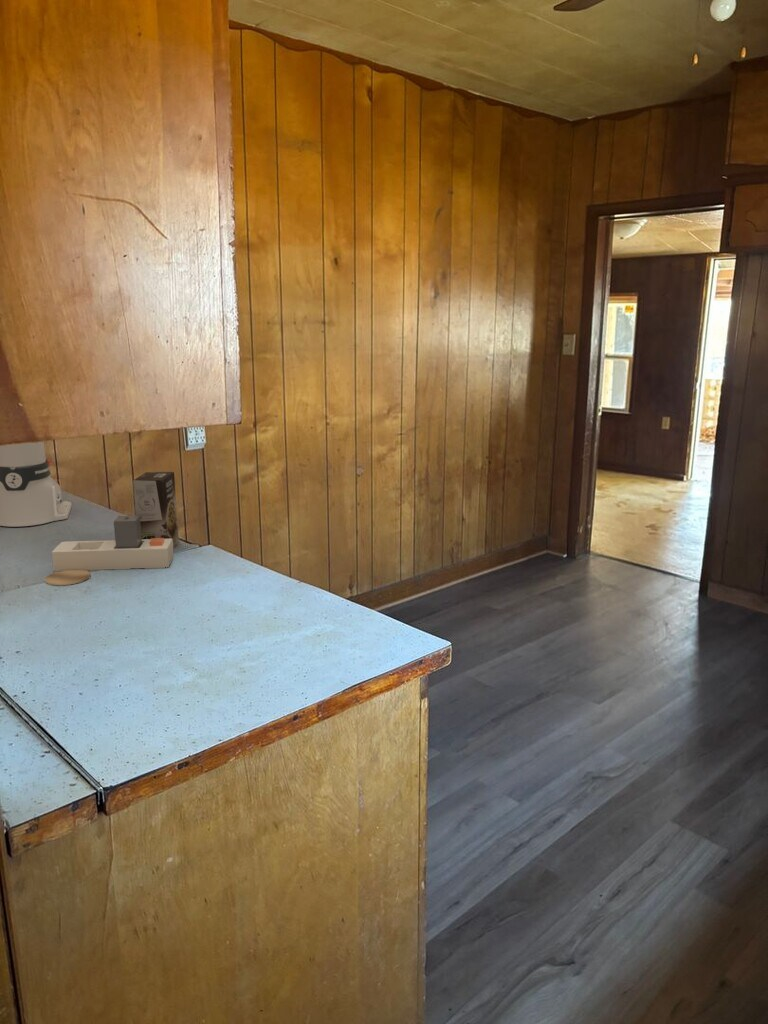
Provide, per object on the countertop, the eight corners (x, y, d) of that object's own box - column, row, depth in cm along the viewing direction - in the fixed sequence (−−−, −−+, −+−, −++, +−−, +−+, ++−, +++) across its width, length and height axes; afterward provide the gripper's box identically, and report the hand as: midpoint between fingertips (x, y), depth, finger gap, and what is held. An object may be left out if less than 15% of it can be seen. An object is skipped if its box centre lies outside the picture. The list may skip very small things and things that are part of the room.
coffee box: (167, 555, 158) (162, 480, 154) (137, 554, 158) (131, 479, 154) (180, 542, 167) (175, 471, 163) (151, 542, 167) (145, 470, 163)
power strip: (53, 571, 147) (50, 548, 146) (64, 560, 154) (61, 537, 153) (168, 567, 150) (166, 544, 149) (173, 556, 157) (172, 534, 155)
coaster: (52, 572, 147) (52, 570, 147) (95, 570, 148) (94, 569, 148) (39, 586, 139) (39, 584, 139) (84, 585, 140) (84, 582, 140)
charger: (121, 548, 153) (118, 515, 152) (142, 548, 154) (139, 514, 152) (116, 555, 149) (113, 520, 148) (138, 554, 150) (135, 520, 148)
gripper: (156, 322, 148) (167, 392, 150) (45, 329, 142) (57, 403, 144) (158, 317, 142) (169, 391, 145) (42, 325, 136) (55, 402, 138)
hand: (112, 397), depth 144 cm, fingers open, 8 cm apart
